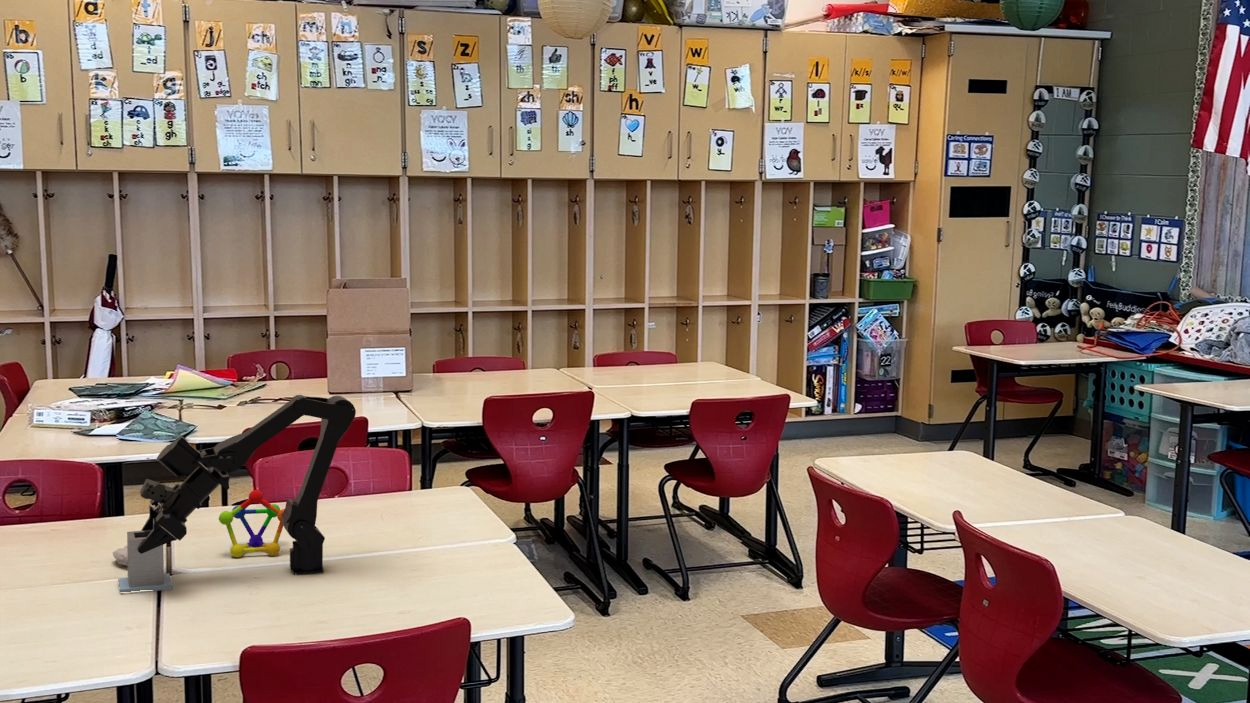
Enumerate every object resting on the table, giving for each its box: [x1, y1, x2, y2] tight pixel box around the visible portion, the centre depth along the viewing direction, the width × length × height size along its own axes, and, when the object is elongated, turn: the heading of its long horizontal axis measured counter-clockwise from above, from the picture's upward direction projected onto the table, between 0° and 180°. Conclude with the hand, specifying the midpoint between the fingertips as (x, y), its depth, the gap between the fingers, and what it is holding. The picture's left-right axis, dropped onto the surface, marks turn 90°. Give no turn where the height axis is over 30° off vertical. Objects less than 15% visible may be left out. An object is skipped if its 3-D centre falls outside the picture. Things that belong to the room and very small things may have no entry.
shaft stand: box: [117, 572, 174, 593], centre depth 243 cm, size 10×8×4 cm
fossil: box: [112, 545, 128, 567], centre depth 259 cm, size 12×4×10 cm
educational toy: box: [218, 489, 285, 558], centre depth 269 cm, size 16×13×15 cm
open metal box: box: [126, 530, 165, 588], centre depth 243 cm, size 7×7×10 cm
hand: (138, 547), depth 242 cm, fingers open, 7 cm apart
